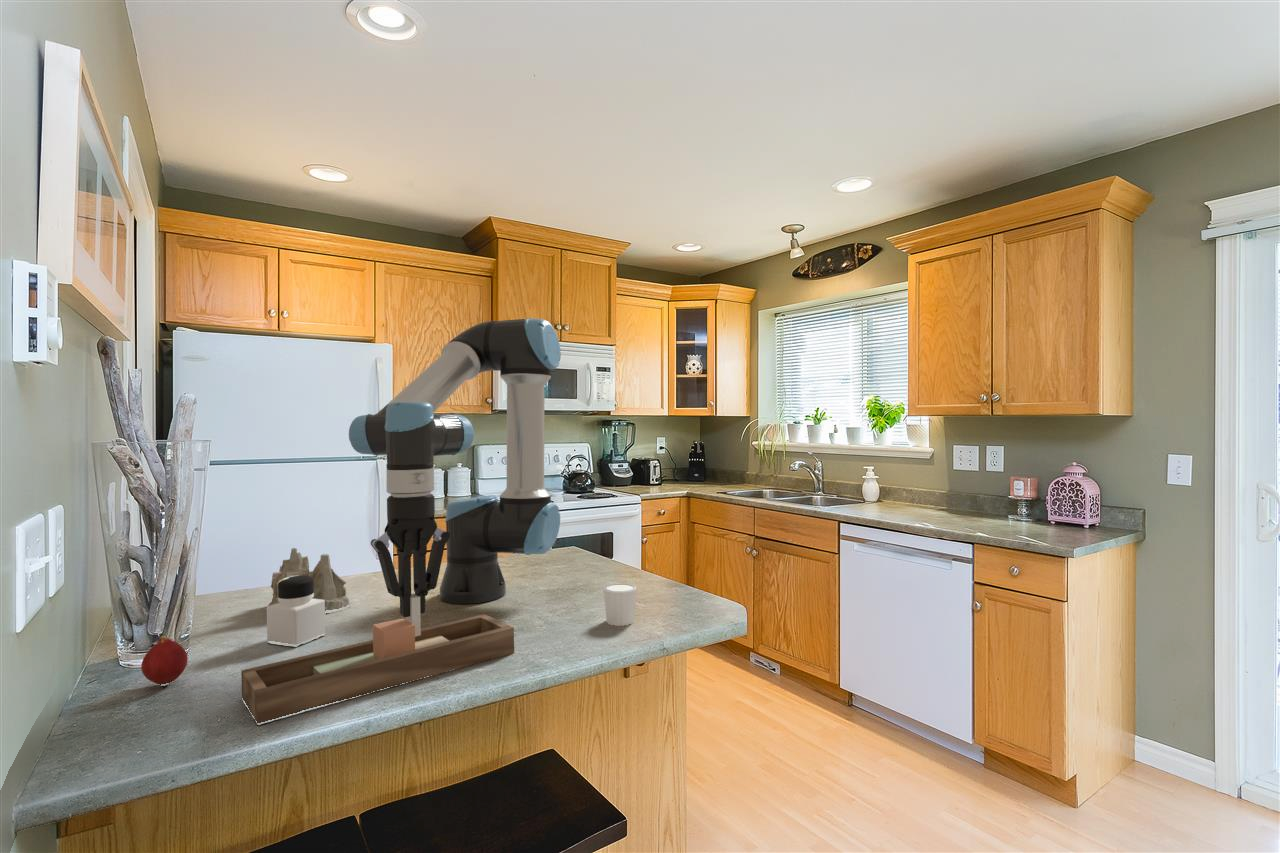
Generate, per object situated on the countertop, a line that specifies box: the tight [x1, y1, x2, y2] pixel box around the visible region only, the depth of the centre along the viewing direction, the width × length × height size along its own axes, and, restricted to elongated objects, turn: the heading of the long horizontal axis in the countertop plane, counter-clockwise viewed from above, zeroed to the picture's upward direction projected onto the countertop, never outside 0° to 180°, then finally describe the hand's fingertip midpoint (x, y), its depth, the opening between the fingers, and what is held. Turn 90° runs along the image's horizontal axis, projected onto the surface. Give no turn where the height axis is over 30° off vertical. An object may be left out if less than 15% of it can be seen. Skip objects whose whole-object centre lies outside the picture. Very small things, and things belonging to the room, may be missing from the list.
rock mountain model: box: [267, 547, 351, 611], centre depth 144 cm, size 16×16×15 cm
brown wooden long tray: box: [240, 613, 515, 723], centre depth 105 cm, size 11×40×4 cm, turn 131°
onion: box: [141, 636, 189, 686], centre depth 102 cm, size 6×6×8 cm
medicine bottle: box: [266, 575, 326, 645], centre depth 122 cm, size 7×7×12 cm
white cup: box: [602, 583, 637, 627], centre depth 131 cm, size 7×7×7 cm
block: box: [372, 618, 415, 659], centre depth 106 cm, size 5×5×5 cm
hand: (413, 634), depth 108 cm, fingers closed
